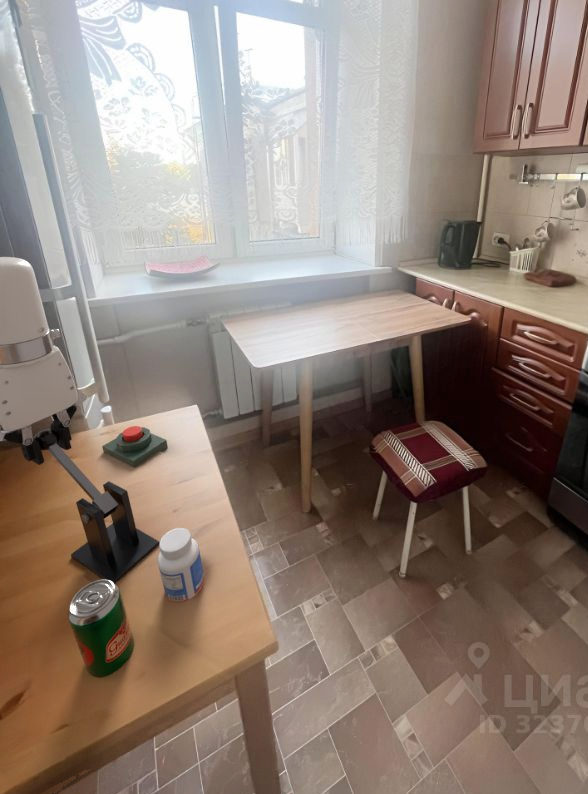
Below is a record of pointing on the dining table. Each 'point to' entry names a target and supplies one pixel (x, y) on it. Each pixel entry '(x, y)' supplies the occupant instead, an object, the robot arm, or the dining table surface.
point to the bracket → (112, 538)
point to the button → (132, 434)
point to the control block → (135, 448)
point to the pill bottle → (180, 565)
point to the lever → (76, 472)
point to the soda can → (101, 627)
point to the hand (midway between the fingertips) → (50, 452)
